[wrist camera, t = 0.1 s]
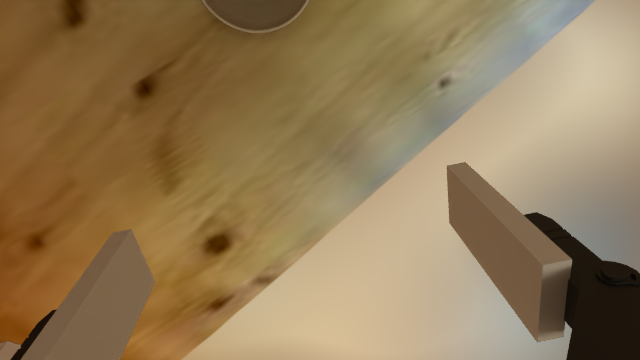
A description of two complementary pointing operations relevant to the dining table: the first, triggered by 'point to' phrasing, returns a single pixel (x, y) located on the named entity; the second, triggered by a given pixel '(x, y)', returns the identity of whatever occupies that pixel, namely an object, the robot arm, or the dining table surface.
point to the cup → (8, 350)
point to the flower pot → (256, 13)
